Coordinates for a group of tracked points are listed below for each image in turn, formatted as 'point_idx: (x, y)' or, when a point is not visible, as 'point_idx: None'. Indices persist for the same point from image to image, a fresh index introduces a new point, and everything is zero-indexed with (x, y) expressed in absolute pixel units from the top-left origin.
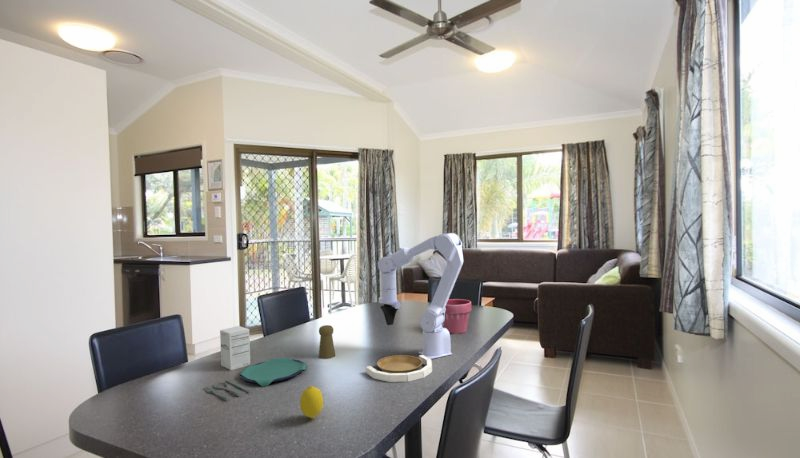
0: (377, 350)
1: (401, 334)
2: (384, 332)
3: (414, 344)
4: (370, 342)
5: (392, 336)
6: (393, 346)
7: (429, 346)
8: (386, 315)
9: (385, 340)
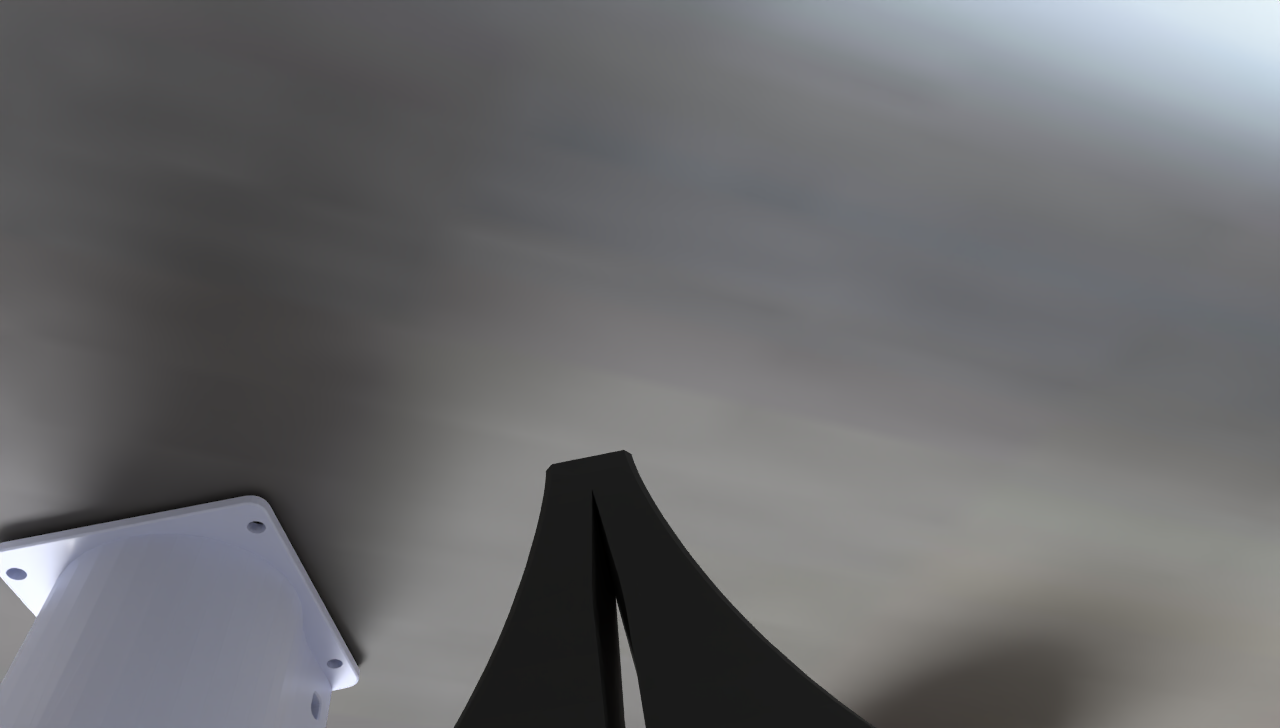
0: (595, 51)
1: (1040, 486)
2: (1260, 349)
3: None
4: (1031, 62)
5: (1049, 391)
6: (668, 309)
7: (11, 665)
8: (544, 637)
9: (966, 282)
